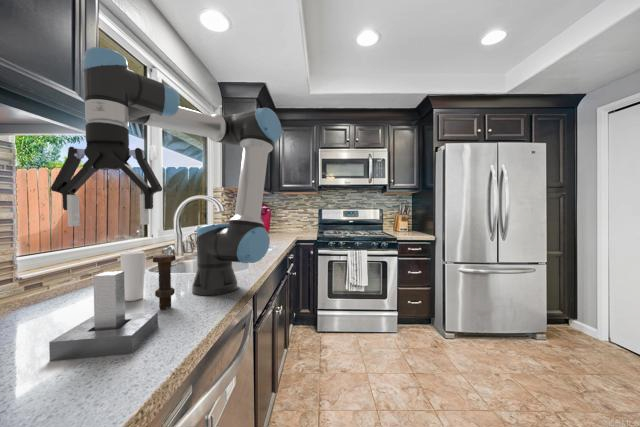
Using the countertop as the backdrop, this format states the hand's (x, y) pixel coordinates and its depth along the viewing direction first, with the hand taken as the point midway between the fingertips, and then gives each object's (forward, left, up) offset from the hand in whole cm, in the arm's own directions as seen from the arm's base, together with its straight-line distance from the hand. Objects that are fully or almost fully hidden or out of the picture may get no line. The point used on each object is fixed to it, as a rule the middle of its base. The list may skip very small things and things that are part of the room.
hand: (109, 225), depth 63 cm
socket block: (0, 0, -25) cm, 25 cm away
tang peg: (0, 0, -24) cm, 24 cm away
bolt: (-22, +4, -25) cm, 33 cm away
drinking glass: (-34, -9, -25) cm, 43 cm away
